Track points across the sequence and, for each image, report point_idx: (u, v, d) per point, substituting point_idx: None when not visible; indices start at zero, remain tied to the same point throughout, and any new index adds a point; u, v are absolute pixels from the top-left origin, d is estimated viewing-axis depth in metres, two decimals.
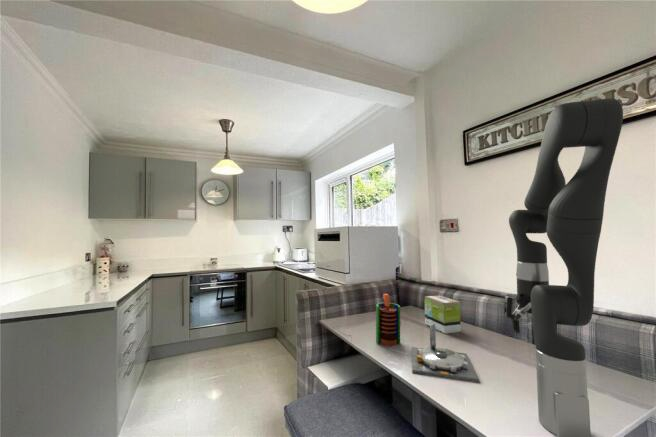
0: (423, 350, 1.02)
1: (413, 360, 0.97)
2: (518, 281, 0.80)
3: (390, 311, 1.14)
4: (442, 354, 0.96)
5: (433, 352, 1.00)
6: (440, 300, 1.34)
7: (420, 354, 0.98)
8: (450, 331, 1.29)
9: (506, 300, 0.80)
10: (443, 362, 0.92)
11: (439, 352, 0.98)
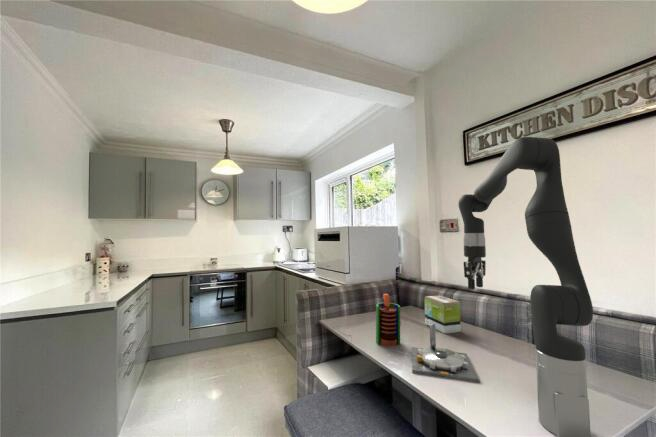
0: (423, 350, 1.02)
1: (413, 360, 0.97)
2: None
3: (390, 311, 1.14)
4: (442, 354, 0.96)
5: (433, 352, 1.00)
6: (440, 300, 1.34)
7: (420, 354, 0.98)
8: (450, 331, 1.29)
9: None
10: (443, 362, 0.92)
11: (439, 352, 0.98)
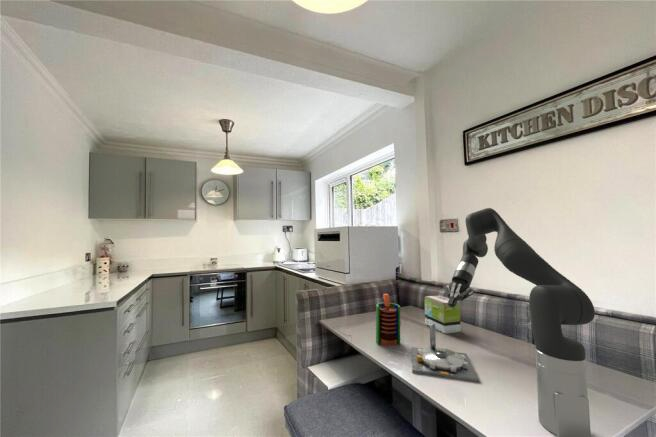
0: (423, 350, 1.02)
1: (413, 360, 0.97)
2: (472, 278, 1.19)
3: (390, 311, 1.14)
4: (442, 354, 0.96)
5: (433, 352, 1.00)
6: (440, 300, 1.34)
7: (420, 354, 0.98)
8: (450, 331, 1.29)
9: (470, 293, 1.13)
10: (443, 362, 0.92)
11: (439, 352, 0.98)
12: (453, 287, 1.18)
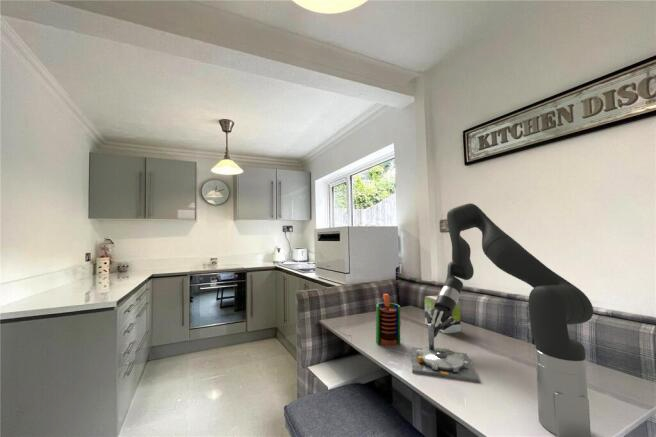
0: (422, 351, 1.01)
1: (413, 360, 0.97)
2: (455, 304, 1.11)
3: (390, 311, 1.14)
4: (442, 354, 0.96)
5: (432, 352, 1.00)
6: None
7: (421, 355, 0.97)
8: (450, 331, 1.29)
9: (453, 323, 1.05)
10: (445, 362, 0.92)
11: (439, 352, 0.98)
12: (435, 315, 1.10)
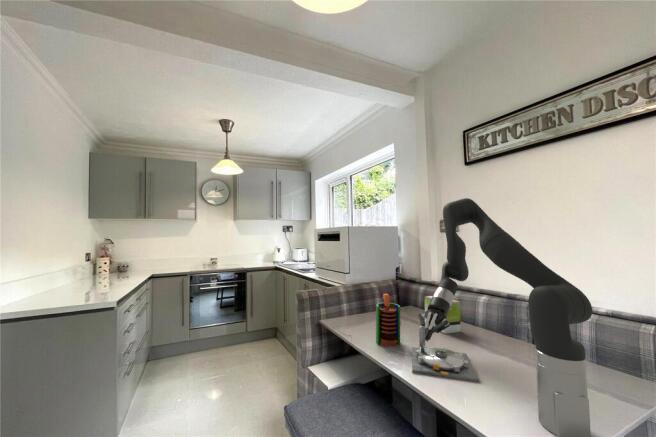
0: (424, 356, 0.96)
1: (413, 360, 0.97)
2: (449, 306, 1.07)
3: (390, 311, 1.14)
4: (444, 353, 0.97)
5: (431, 355, 0.98)
6: None
7: (432, 362, 0.92)
8: (450, 331, 1.29)
9: (447, 325, 1.02)
10: (455, 360, 0.93)
11: (439, 353, 0.97)
12: (428, 317, 1.06)
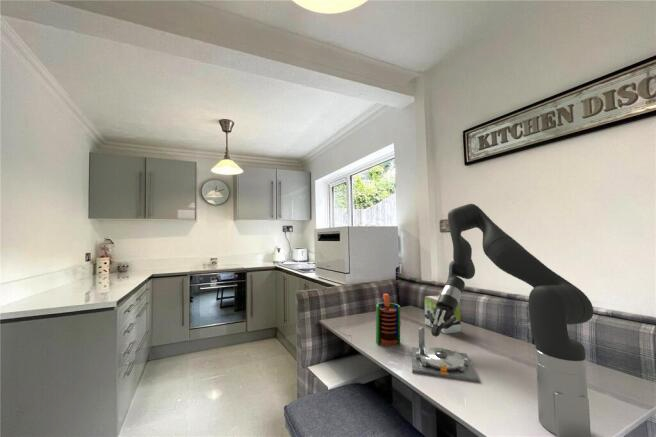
0: (427, 359, 0.94)
1: (413, 360, 0.97)
2: (457, 304, 1.11)
3: (390, 311, 1.14)
4: (444, 353, 0.97)
5: (432, 356, 0.97)
6: None
7: (438, 363, 0.91)
8: (450, 331, 1.29)
9: (455, 322, 1.05)
10: (456, 359, 0.94)
11: (439, 353, 0.97)
12: (437, 314, 1.10)
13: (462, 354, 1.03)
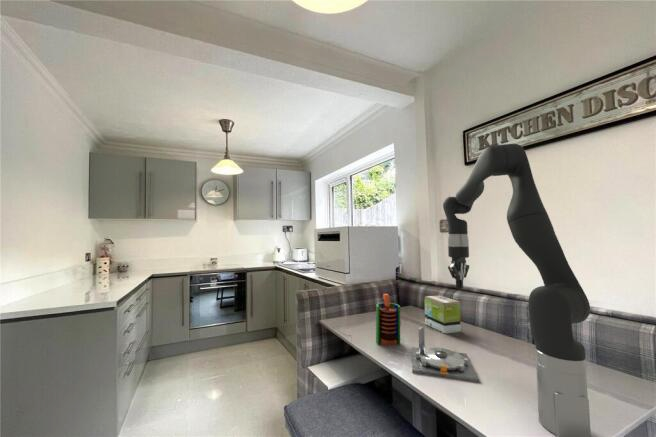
0: (427, 359, 0.94)
1: (413, 360, 0.97)
2: None
3: (390, 311, 1.14)
4: (444, 353, 0.97)
5: (432, 356, 0.97)
6: (440, 300, 1.34)
7: (438, 363, 0.91)
8: (450, 331, 1.29)
9: None
10: (456, 359, 0.94)
11: (439, 353, 0.97)
12: (461, 268, 1.07)
13: (462, 354, 1.03)
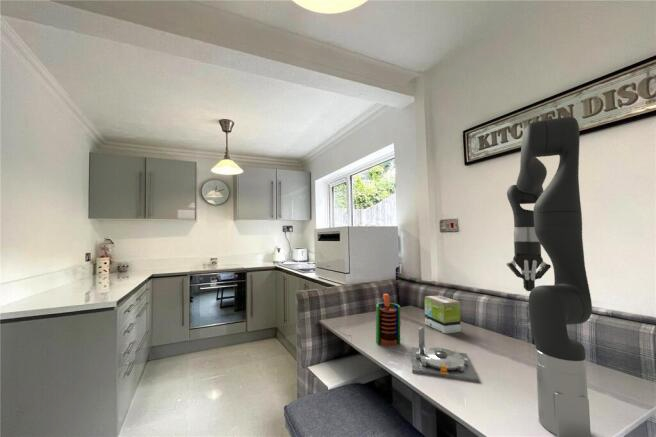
0: (427, 359, 0.94)
1: (413, 360, 0.97)
2: None
3: (390, 311, 1.14)
4: (444, 353, 0.97)
5: (432, 356, 0.97)
6: (440, 300, 1.34)
7: (438, 363, 0.91)
8: (450, 331, 1.29)
9: None
10: (456, 359, 0.94)
11: (439, 353, 0.97)
12: (526, 266, 0.93)
13: (462, 354, 1.03)
